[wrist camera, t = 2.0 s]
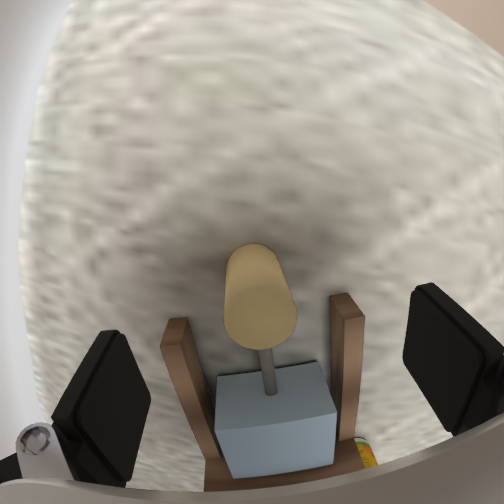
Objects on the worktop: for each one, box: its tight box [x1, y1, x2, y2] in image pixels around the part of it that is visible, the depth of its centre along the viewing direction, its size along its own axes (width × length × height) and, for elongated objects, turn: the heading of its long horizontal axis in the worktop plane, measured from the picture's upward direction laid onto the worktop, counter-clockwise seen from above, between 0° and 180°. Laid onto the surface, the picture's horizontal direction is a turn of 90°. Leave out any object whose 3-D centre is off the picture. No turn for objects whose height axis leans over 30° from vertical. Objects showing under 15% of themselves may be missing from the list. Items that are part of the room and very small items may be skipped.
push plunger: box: [214, 244, 337, 479], centre depth 17 cm, size 15×7×6 cm, turn 8°
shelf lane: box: [160, 293, 365, 492], centre depth 15 cm, size 12×11×12 cm
